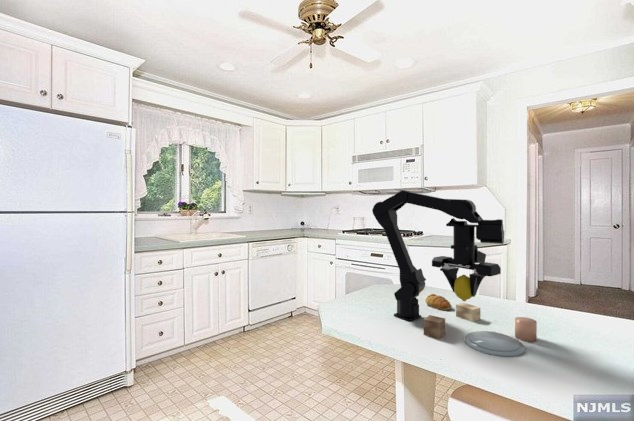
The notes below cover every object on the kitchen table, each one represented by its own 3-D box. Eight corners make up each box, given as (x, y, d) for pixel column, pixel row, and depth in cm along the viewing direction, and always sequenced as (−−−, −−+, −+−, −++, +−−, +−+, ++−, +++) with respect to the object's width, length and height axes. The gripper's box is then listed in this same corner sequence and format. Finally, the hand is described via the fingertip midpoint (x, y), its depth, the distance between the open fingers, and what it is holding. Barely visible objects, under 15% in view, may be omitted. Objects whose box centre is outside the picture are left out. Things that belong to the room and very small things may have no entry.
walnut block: (423, 335, 93) (423, 319, 93) (429, 330, 96) (429, 315, 96) (439, 339, 90) (439, 322, 90) (445, 334, 93) (445, 318, 93)
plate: (453, 341, 88) (453, 336, 88) (482, 329, 96) (482, 325, 96) (507, 362, 76) (508, 357, 76) (535, 346, 84) (535, 342, 84)
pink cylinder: (511, 337, 90) (511, 319, 90) (520, 333, 93) (520, 315, 93) (531, 343, 86) (531, 324, 86) (539, 339, 89) (540, 320, 89)
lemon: (476, 304, 94) (476, 276, 94) (456, 303, 95) (456, 276, 95) (471, 299, 99) (471, 272, 99) (452, 298, 100) (452, 272, 100)
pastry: (456, 310, 114) (456, 299, 114) (440, 312, 112) (440, 301, 112) (437, 302, 123) (437, 292, 123) (423, 304, 121) (423, 294, 121)
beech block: (455, 316, 107) (455, 304, 107) (463, 314, 109) (463, 302, 109) (472, 322, 102) (472, 309, 102) (480, 320, 104) (480, 307, 104)
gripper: (510, 242, 93) (510, 296, 94) (451, 237, 109) (451, 284, 109) (489, 245, 87) (489, 303, 88) (430, 239, 103) (430, 289, 103)
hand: (464, 294), depth 97 cm, fingers closed on lemon, 5 cm apart
